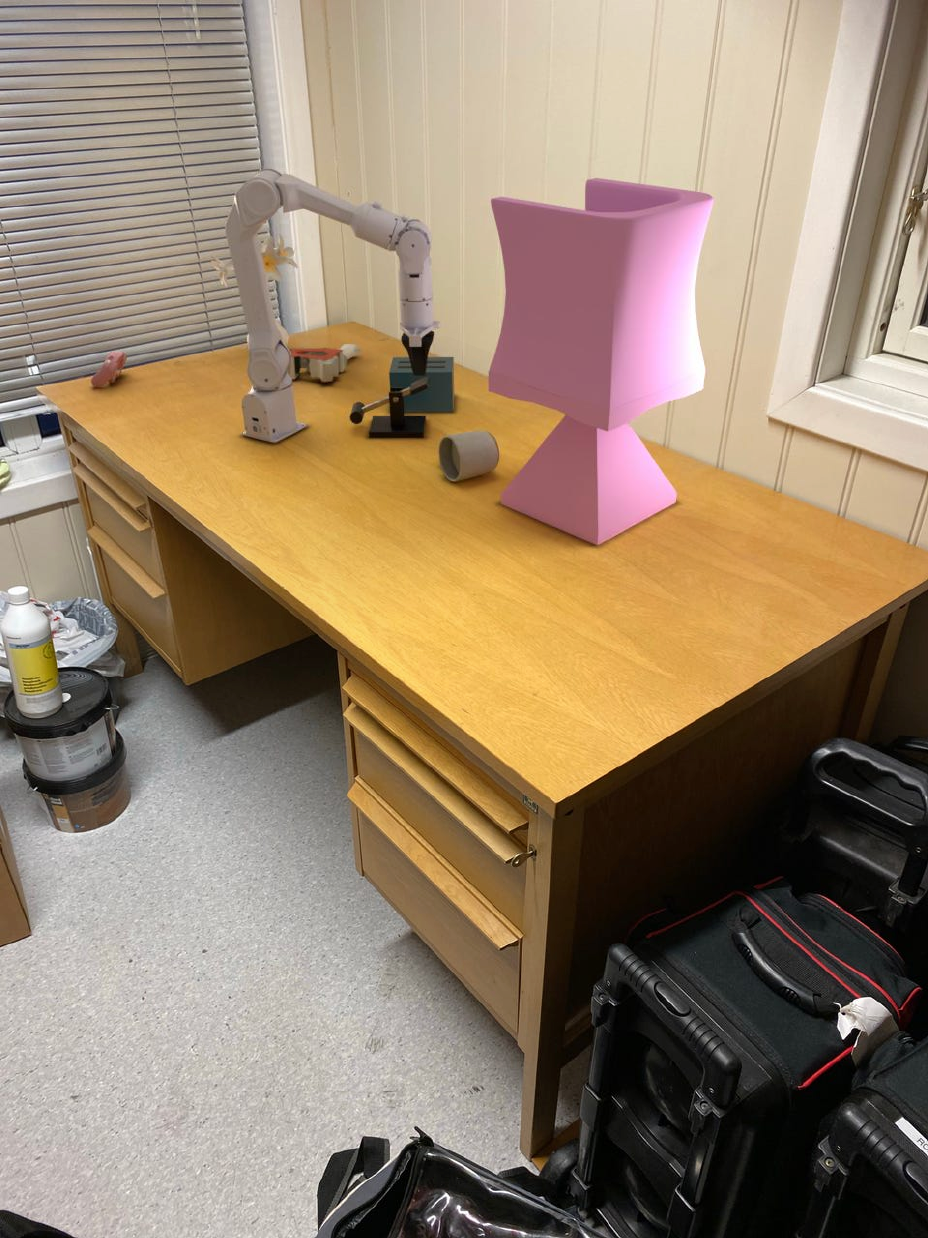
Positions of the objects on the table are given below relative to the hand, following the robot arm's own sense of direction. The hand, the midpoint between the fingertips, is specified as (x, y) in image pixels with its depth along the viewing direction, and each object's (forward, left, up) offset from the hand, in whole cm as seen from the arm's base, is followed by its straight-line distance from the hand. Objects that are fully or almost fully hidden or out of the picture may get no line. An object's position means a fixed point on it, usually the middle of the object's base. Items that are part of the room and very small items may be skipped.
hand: (419, 374), depth 171 cm
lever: (-3, +5, -6) cm, 8 cm away
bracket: (-2, +4, -11) cm, 11 cm away
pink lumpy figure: (-9, +72, -11) cm, 74 cm away
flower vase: (+20, +54, -11) cm, 59 cm away
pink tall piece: (-12, -40, -11) cm, 43 cm away
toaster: (+11, +7, -11) cm, 17 cm away
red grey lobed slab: (+17, +35, -11) cm, 40 cm away
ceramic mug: (-12, -17, -11) cm, 23 cm away
